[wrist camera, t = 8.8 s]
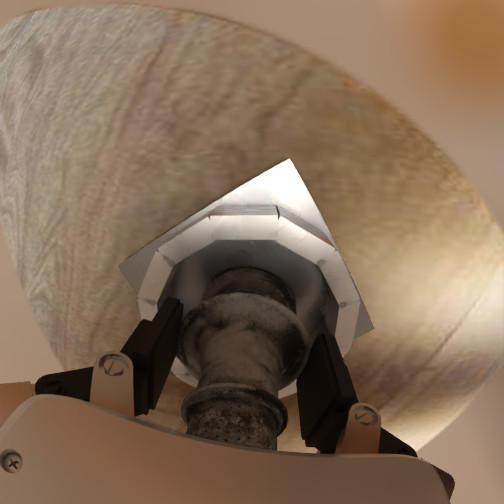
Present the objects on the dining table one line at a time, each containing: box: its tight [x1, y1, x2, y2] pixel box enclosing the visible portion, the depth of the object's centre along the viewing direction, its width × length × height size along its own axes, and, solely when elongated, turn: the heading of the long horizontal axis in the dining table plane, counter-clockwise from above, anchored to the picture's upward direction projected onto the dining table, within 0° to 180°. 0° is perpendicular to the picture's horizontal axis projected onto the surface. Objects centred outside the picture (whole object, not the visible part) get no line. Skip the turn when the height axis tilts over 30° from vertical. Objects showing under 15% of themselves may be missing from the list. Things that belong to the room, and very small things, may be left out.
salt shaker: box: [178, 268, 310, 451], centre depth 9 cm, size 6×6×12 cm
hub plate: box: [118, 158, 374, 399], centre depth 15 cm, size 11×11×4 cm
